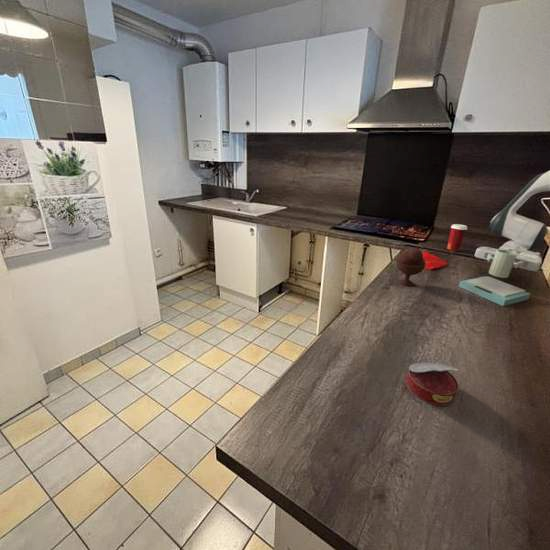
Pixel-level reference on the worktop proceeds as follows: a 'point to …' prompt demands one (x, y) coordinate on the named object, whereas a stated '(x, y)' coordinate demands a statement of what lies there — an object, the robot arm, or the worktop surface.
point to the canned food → (432, 382)
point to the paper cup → (456, 236)
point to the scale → (495, 290)
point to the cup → (502, 263)
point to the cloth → (433, 261)
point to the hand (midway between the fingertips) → (502, 262)
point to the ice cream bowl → (410, 264)
